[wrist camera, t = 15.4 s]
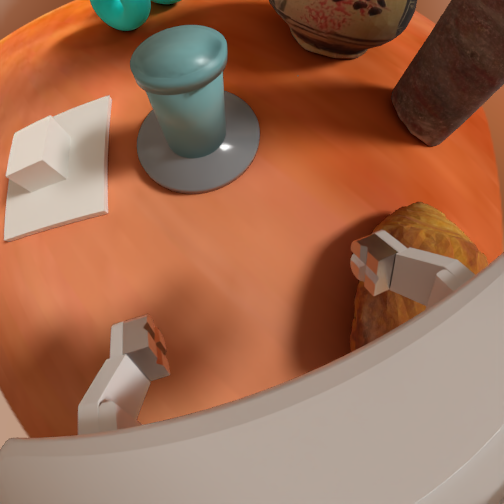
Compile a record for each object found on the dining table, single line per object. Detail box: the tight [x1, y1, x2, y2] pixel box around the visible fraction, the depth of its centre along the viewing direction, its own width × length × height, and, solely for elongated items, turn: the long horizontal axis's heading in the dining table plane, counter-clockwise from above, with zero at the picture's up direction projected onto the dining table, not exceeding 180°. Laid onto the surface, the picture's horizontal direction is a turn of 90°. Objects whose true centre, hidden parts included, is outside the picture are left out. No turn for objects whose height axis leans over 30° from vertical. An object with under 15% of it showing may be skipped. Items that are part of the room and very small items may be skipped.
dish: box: [137, 91, 260, 194], centre depth 21 cm, size 10×10×1 cm
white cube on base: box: [4, 96, 112, 242], centre depth 19 cm, size 12×12×5 cm
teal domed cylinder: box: [130, 25, 227, 158], centre depth 17 cm, size 5×5×9 cm
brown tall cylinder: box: [391, 0, 504, 146], centre depth 14 cm, size 8×7×20 cm
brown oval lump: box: [350, 202, 488, 352], centre depth 17 cm, size 14×16×8 cm
